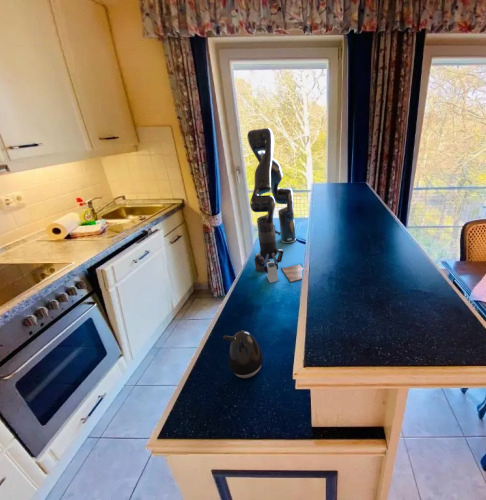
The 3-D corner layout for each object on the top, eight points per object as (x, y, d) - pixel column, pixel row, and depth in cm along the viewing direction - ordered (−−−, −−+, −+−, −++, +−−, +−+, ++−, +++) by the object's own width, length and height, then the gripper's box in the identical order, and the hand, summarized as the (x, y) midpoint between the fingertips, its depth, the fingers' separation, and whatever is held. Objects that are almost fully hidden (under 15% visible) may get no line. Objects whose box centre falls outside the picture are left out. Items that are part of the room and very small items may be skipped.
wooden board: (281, 269, 145) (281, 268, 145) (299, 264, 148) (299, 264, 148) (290, 282, 133) (290, 281, 133) (309, 277, 137) (309, 276, 137)
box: (266, 271, 143) (265, 259, 140) (255, 271, 144) (253, 258, 141) (270, 266, 148) (269, 253, 145) (260, 265, 149) (258, 253, 146)
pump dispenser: (234, 358, 93) (226, 322, 86) (266, 356, 93) (260, 320, 86) (227, 384, 84) (218, 347, 77) (262, 382, 84) (255, 344, 77)
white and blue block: (266, 277, 138) (264, 260, 134) (274, 275, 140) (272, 258, 136) (270, 283, 133) (267, 266, 129) (278, 280, 135) (276, 264, 131)
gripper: (279, 233, 133) (283, 264, 140) (250, 238, 128) (255, 271, 135) (284, 238, 126) (287, 271, 134) (253, 245, 121) (258, 278, 129)
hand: (271, 271), depth 135 cm, fingers closed on white and blue block, 4 cm apart
